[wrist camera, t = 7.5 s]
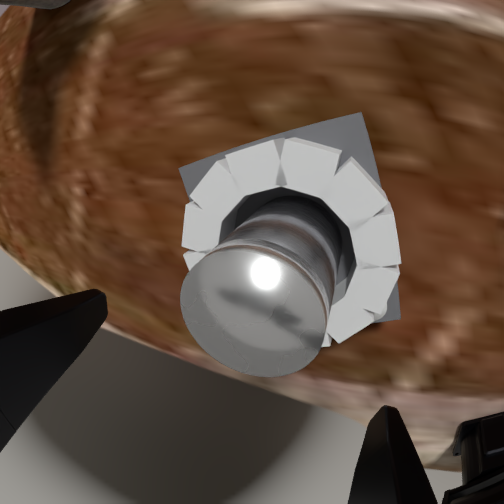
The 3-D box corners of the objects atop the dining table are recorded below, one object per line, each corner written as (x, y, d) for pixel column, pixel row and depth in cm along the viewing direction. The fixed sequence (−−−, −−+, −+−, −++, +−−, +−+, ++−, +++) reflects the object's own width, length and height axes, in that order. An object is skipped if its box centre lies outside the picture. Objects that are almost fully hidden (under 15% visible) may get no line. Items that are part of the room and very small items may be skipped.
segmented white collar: (400, 287, 18) (407, 340, 14) (254, 306, 23) (225, 354, 18) (365, 114, 15) (368, 108, 10) (204, 160, 20) (154, 176, 15)
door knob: (355, 213, 14) (349, 284, 8) (324, 297, 17) (297, 393, 11) (258, 183, 15) (186, 229, 9) (240, 268, 18) (177, 344, 12)
